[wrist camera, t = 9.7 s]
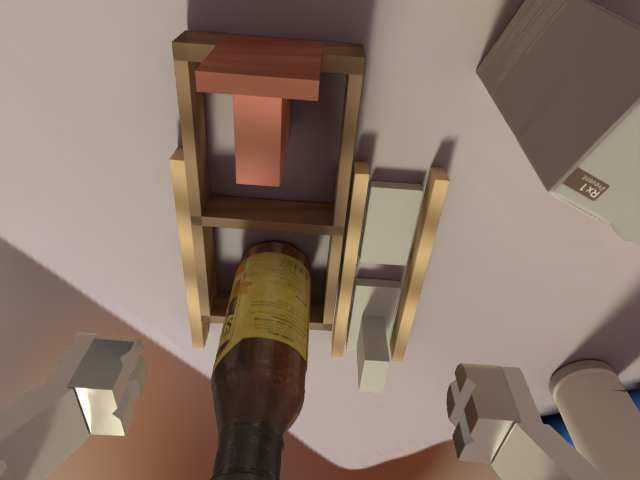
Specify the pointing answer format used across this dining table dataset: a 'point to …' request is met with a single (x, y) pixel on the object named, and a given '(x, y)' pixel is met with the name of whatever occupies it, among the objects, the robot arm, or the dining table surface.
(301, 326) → the sauce bottle
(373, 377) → the broken grey strip
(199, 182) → the wooden condiment caddy
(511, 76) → the skincare box
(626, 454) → the travel mug
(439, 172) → the oak lane rails
